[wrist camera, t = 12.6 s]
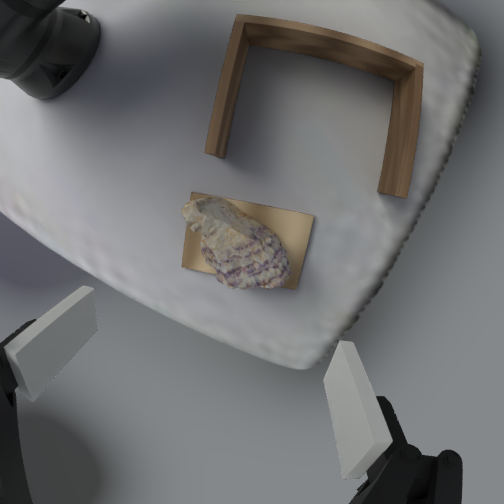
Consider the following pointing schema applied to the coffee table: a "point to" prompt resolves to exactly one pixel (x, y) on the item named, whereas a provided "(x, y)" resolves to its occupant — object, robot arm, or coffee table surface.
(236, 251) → the mineral specimen
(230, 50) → the brown open u-shaped frame
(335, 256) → the coffee table surface
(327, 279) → the coffee table surface
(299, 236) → the mat
